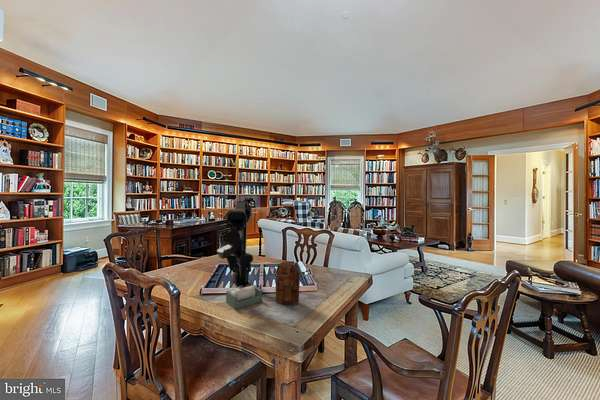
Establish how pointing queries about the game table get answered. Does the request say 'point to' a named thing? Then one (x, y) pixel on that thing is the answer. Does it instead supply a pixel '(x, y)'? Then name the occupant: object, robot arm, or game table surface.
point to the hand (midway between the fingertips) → (236, 273)
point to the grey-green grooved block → (232, 300)
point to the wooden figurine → (287, 283)
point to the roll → (244, 293)
